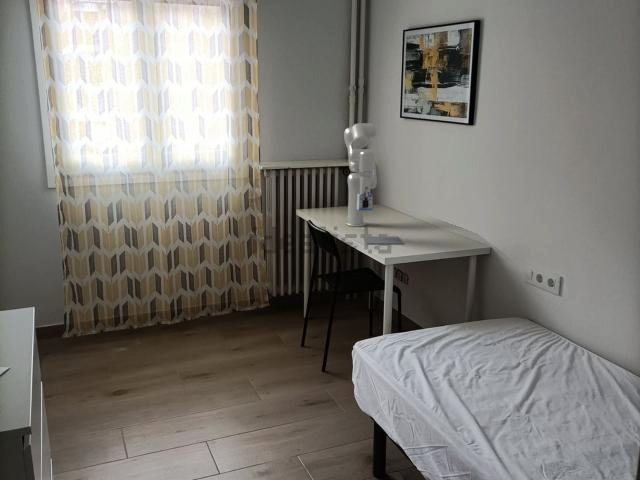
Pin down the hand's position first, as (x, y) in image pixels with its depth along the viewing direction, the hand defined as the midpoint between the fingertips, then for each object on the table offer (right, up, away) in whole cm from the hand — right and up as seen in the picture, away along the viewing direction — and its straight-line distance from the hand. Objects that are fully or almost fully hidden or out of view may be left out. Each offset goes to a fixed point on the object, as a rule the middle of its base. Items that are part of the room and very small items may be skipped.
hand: (364, 206), depth 334 cm
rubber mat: (+10, -19, -3) cm, 22 cm away
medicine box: (0, -2, +1) cm, 2 cm away
